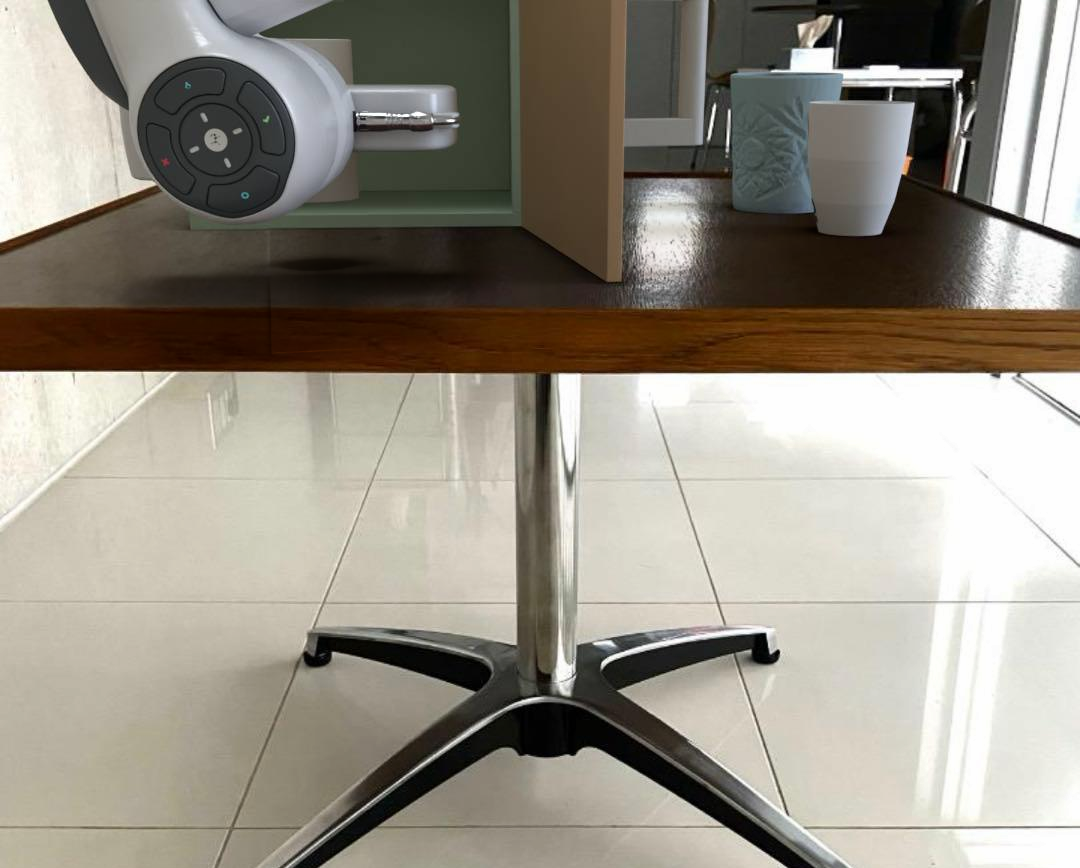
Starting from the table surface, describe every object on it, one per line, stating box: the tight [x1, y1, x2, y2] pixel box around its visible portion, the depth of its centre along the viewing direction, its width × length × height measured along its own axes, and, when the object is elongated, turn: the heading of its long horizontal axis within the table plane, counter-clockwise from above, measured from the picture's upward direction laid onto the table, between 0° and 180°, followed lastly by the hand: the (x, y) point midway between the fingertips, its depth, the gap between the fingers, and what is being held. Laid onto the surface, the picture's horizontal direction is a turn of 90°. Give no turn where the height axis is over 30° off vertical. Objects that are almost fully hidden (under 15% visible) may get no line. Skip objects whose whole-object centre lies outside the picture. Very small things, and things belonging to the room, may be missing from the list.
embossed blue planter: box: [729, 71, 844, 214], centre depth 113 cm, size 10×10×12 cm
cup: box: [808, 100, 916, 237], centre depth 98 cm, size 8×8×10 cm
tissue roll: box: [286, 38, 359, 203], centre depth 81 cm, size 6×6×10 cm
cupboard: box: [188, 0, 522, 231], centre depth 108 cm, size 20×28×26 cm
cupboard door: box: [519, 0, 710, 283], centre depth 86 cm, size 7×28×26 cm, turn 12°
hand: (310, 111), depth 82 cm, fingers closed on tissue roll, 6 cm apart
